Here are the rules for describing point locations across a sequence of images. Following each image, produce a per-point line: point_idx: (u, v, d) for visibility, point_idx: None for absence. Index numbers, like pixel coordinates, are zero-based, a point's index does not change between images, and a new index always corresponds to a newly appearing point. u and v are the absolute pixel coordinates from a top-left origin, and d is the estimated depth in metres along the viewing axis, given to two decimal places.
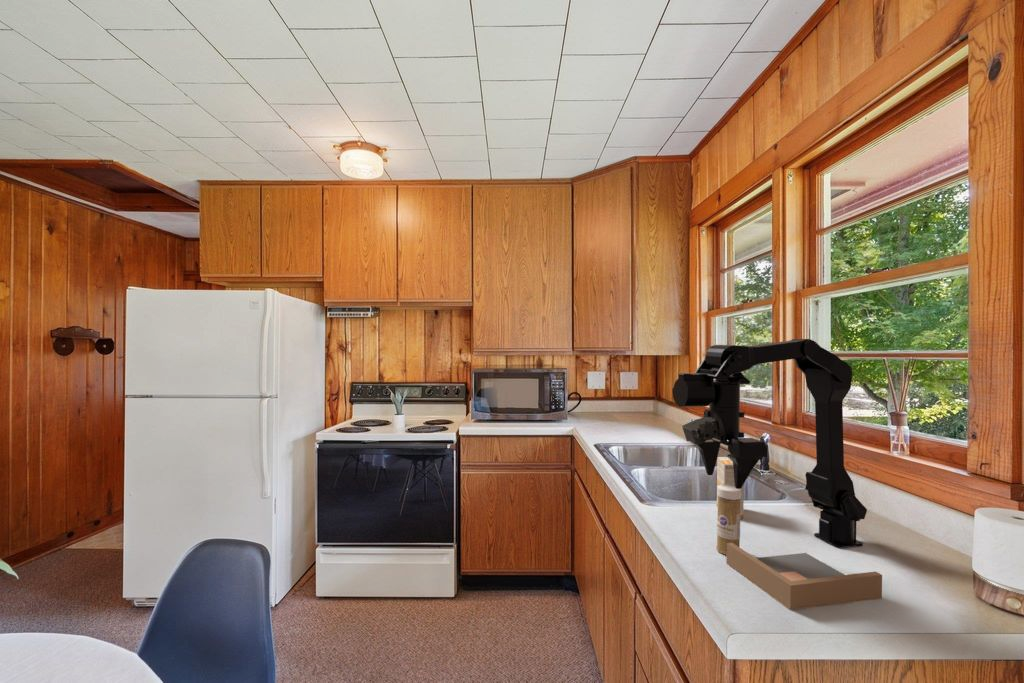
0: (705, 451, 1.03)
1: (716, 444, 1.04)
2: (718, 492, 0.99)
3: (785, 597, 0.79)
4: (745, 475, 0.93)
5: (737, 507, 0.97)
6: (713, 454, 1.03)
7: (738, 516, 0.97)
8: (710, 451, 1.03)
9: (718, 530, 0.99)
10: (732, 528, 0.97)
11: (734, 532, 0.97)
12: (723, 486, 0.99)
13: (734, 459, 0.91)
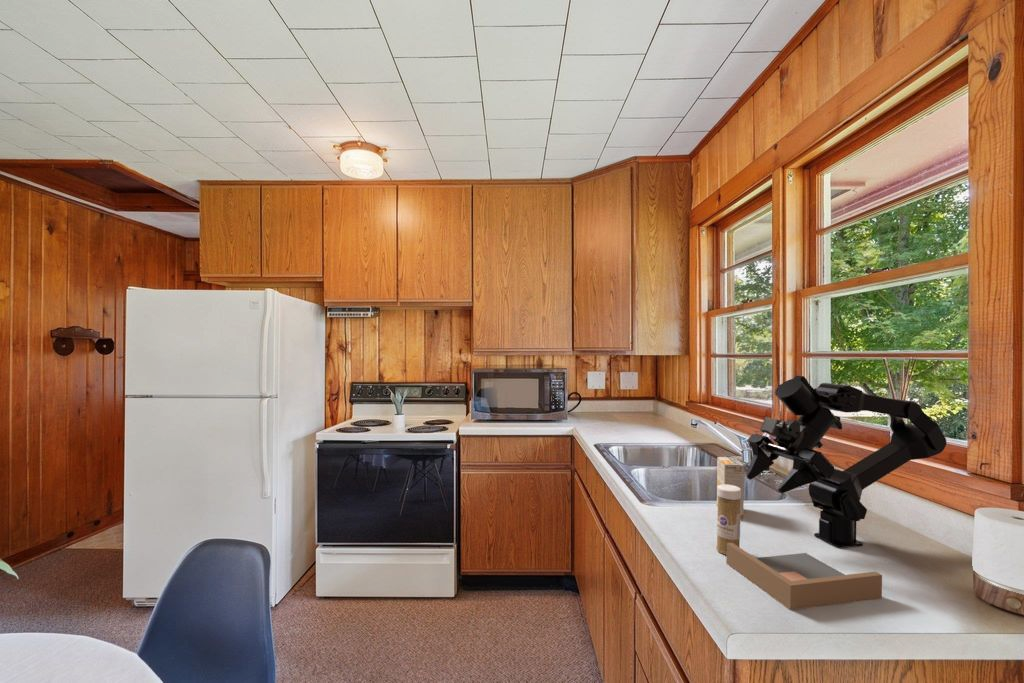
0: (758, 457, 1.06)
1: (769, 461, 1.07)
2: (718, 492, 0.99)
3: (785, 597, 0.79)
4: (794, 485, 0.96)
5: (737, 507, 0.97)
6: (762, 466, 1.06)
7: (738, 516, 0.97)
8: (762, 461, 1.06)
9: (718, 530, 0.99)
10: (732, 528, 0.97)
11: (734, 532, 0.97)
12: (723, 486, 0.99)
13: (800, 462, 0.94)
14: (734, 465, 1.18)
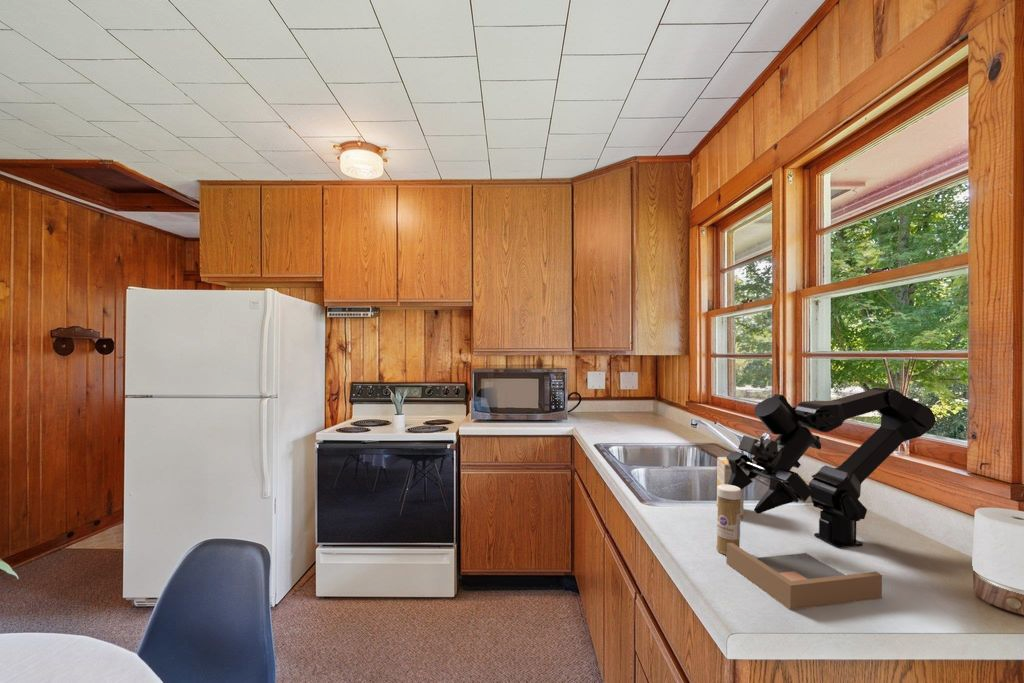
0: (737, 476, 1.05)
1: (748, 479, 1.06)
2: (718, 492, 0.99)
3: (785, 597, 0.79)
4: (770, 505, 0.94)
5: (737, 507, 0.97)
6: (740, 484, 1.05)
7: (738, 516, 0.97)
8: (740, 480, 1.05)
9: (718, 530, 0.99)
10: (732, 528, 0.97)
11: (734, 532, 0.97)
12: (723, 486, 0.99)
13: (776, 482, 0.93)
14: None
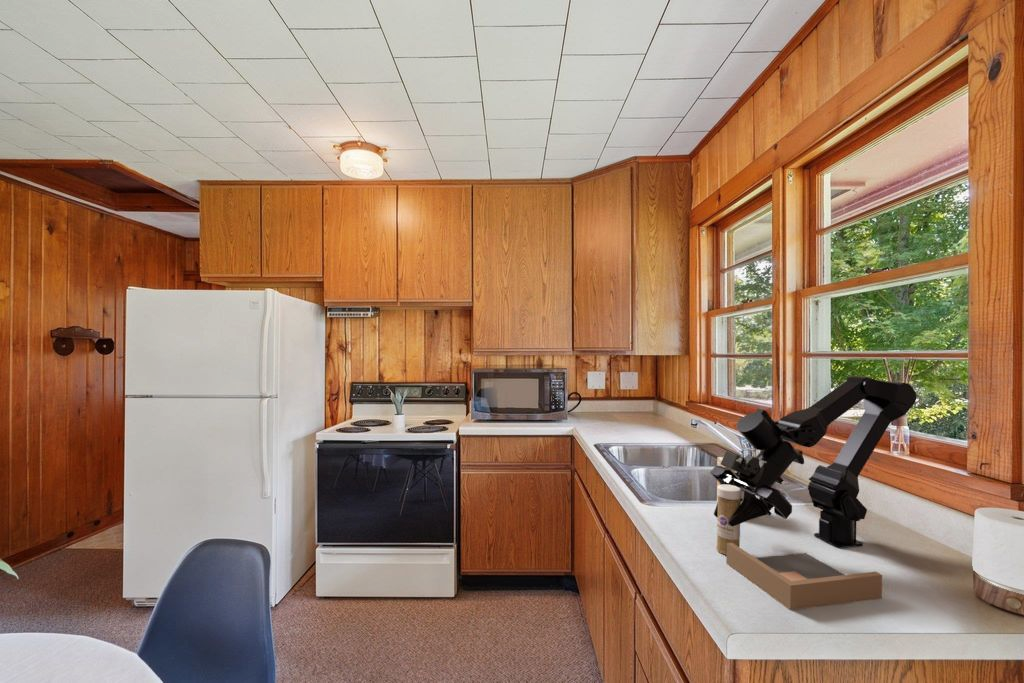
0: None
1: None
2: (718, 492, 0.99)
3: (785, 597, 0.79)
4: (744, 518, 0.96)
5: (737, 507, 0.97)
6: None
7: None
8: None
9: (718, 530, 0.99)
10: (732, 528, 0.97)
11: (734, 532, 0.97)
12: (723, 486, 0.99)
13: (749, 496, 0.95)
14: None
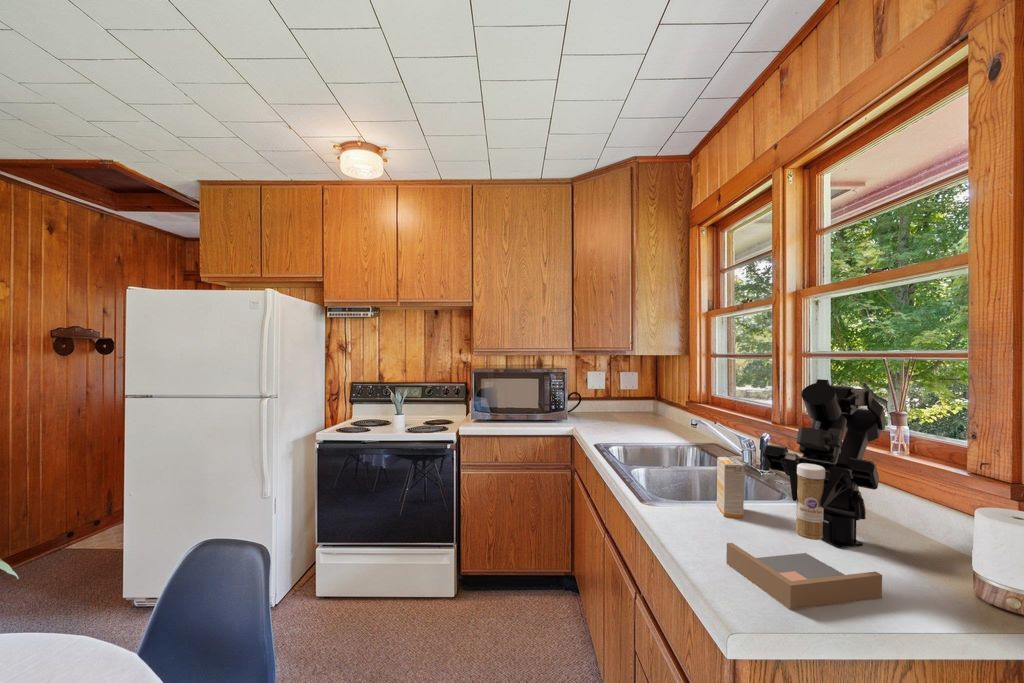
0: (797, 474, 0.94)
1: None
2: (805, 473, 0.90)
3: (785, 597, 0.79)
4: (832, 496, 0.89)
5: (823, 486, 0.90)
6: None
7: None
8: None
9: (804, 515, 0.90)
10: (821, 510, 0.89)
11: (822, 513, 0.89)
12: (805, 466, 0.91)
13: (840, 471, 0.89)
14: (734, 465, 1.18)
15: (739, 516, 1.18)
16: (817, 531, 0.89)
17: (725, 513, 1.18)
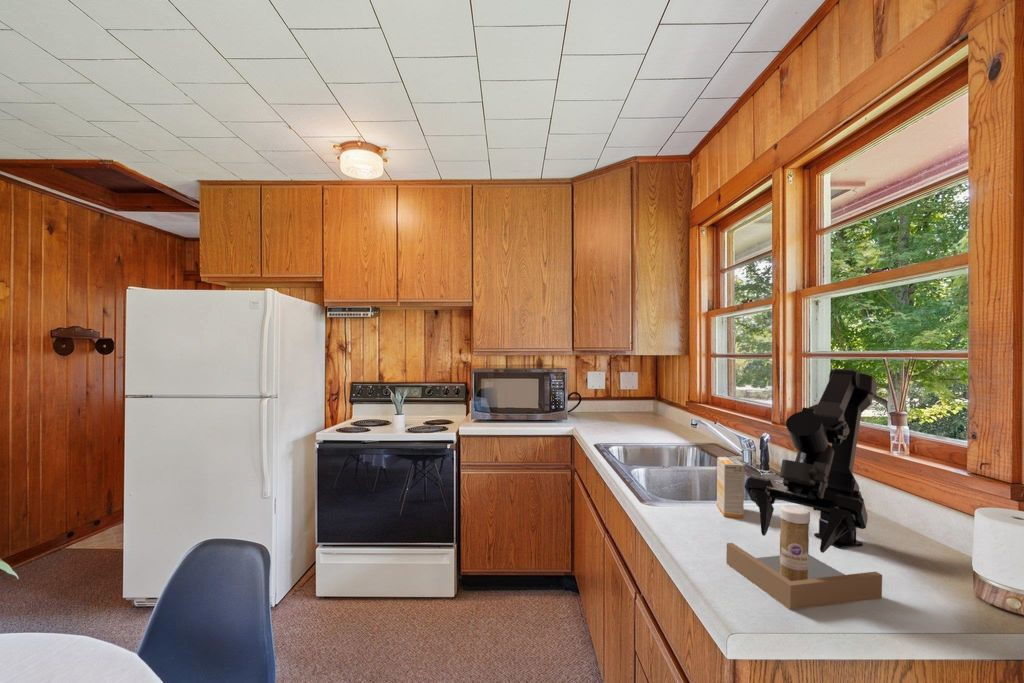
0: (767, 506, 0.89)
1: (772, 508, 0.91)
2: (788, 517, 0.84)
3: (785, 597, 0.79)
4: (833, 540, 0.81)
5: (808, 531, 0.84)
6: (769, 515, 0.90)
7: (808, 541, 0.84)
8: (769, 510, 0.90)
9: (788, 562, 0.84)
10: (806, 557, 0.83)
11: (807, 560, 0.83)
12: (789, 508, 0.85)
13: (841, 513, 0.80)
14: (734, 465, 1.18)
15: (739, 516, 1.18)
16: (802, 579, 0.83)
17: (725, 513, 1.18)
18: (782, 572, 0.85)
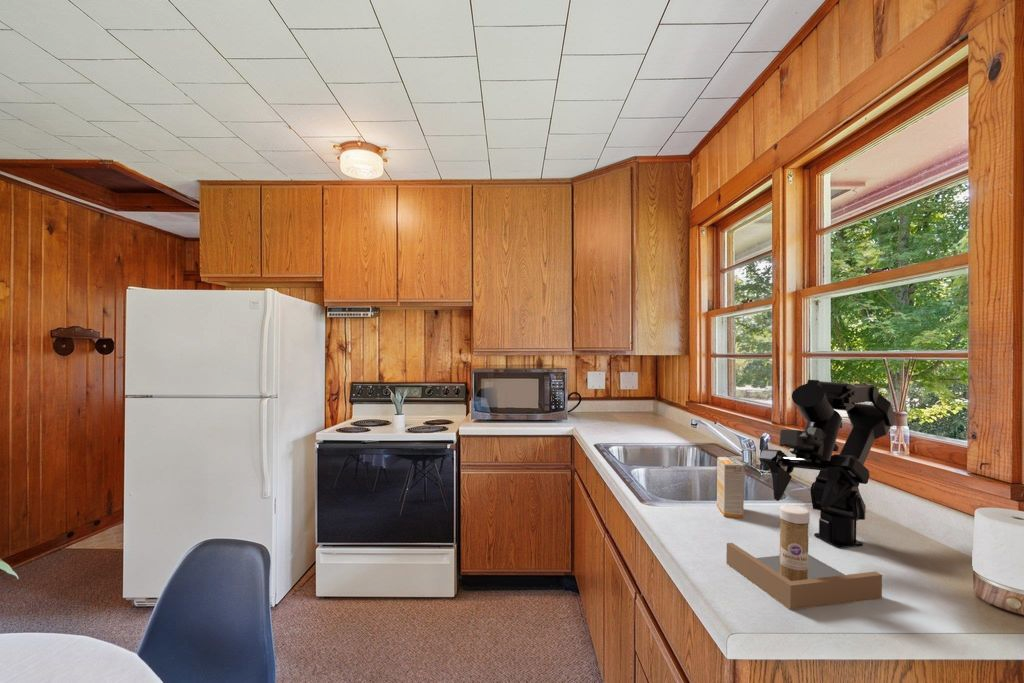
0: (779, 474, 0.98)
1: (788, 476, 1.00)
2: (788, 517, 0.84)
3: (785, 597, 0.79)
4: (834, 497, 0.89)
5: (807, 531, 0.84)
6: (784, 482, 0.98)
7: None
8: (782, 478, 0.98)
9: (788, 562, 0.84)
10: (805, 557, 0.83)
11: (807, 560, 0.83)
12: (788, 508, 0.85)
13: (836, 471, 0.88)
14: (734, 465, 1.18)
15: (739, 516, 1.18)
16: (802, 579, 0.83)
17: (725, 513, 1.18)
18: (782, 572, 0.85)
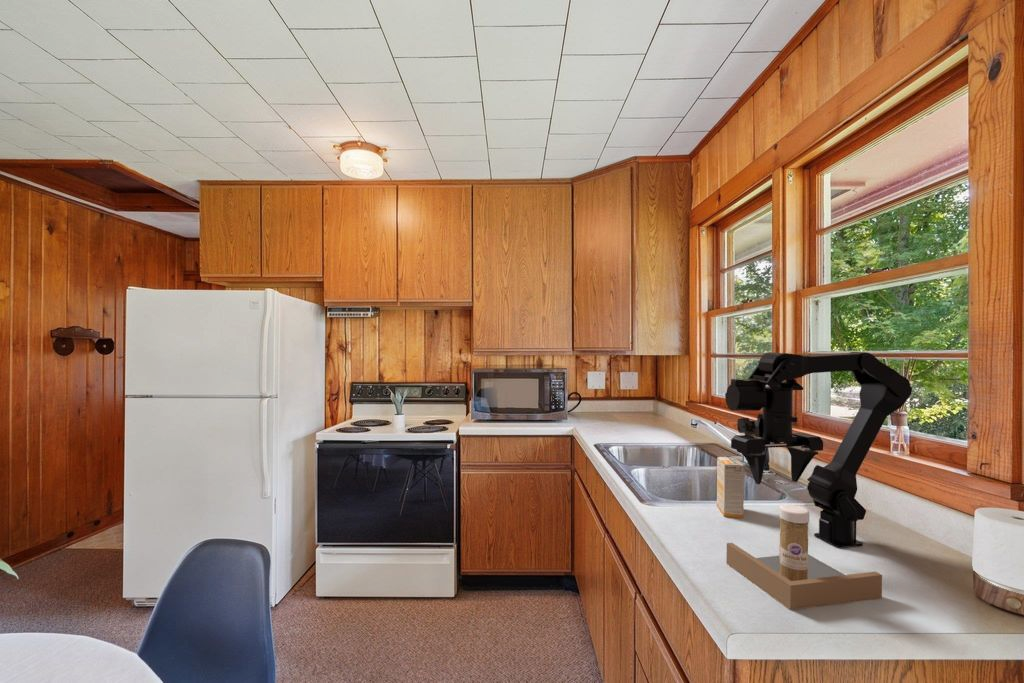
0: (792, 457, 1.05)
1: (803, 454, 1.03)
2: (787, 516, 0.84)
3: (785, 597, 0.79)
4: (756, 472, 1.02)
5: (807, 530, 0.84)
6: (799, 462, 1.04)
7: None
8: (797, 458, 1.04)
9: (787, 561, 0.84)
10: (805, 557, 0.83)
11: (806, 560, 0.83)
12: (788, 508, 0.85)
13: None
14: (734, 465, 1.18)
15: (739, 516, 1.18)
16: (802, 579, 0.83)
17: (725, 513, 1.18)
18: (782, 572, 0.85)
